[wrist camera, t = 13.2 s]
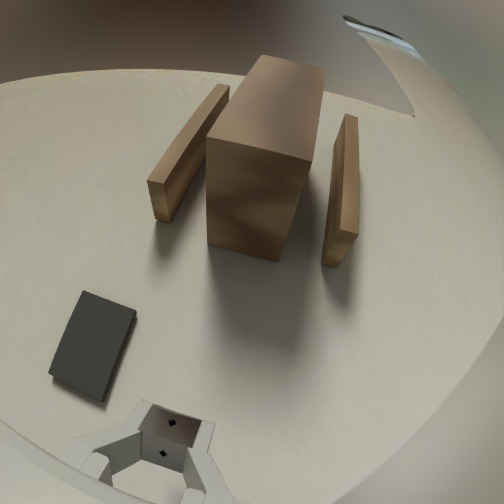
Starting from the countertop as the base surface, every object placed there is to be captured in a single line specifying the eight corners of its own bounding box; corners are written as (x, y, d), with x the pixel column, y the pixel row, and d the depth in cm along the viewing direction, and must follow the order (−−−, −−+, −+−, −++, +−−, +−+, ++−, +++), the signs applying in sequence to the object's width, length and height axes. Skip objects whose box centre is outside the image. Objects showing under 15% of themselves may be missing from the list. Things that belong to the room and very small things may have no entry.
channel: (155, 218, 22) (146, 179, 18) (216, 116, 29) (217, 83, 26) (336, 267, 21) (358, 234, 18) (345, 149, 28) (357, 117, 25)
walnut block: (207, 243, 21) (206, 136, 13) (249, 141, 27) (261, 54, 20) (278, 262, 21) (312, 161, 13) (302, 154, 27) (325, 69, 20)
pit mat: (51, 374, 15) (48, 373, 14) (85, 292, 18) (83, 290, 18) (103, 401, 14) (101, 400, 14) (136, 312, 18) (135, 310, 17)
